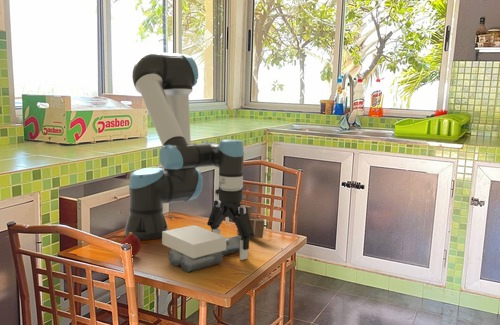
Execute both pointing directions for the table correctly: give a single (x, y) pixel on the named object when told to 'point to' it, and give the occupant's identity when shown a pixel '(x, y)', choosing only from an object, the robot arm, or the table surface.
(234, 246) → the roller
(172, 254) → the cylinder
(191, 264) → the roller front
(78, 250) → the table surface
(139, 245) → the onion
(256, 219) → the wooden block set
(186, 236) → the slab
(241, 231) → the robot arm
